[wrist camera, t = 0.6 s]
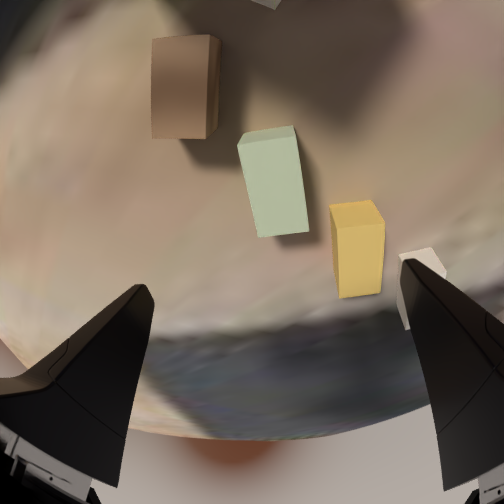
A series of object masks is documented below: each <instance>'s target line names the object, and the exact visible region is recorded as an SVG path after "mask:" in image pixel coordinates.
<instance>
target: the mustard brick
mask: <svg viewBox="0 0 504 504" xmlns="http://www.w3.org/2000/svg"><path fill="white" fill-rule="evenodd" d="M329 209H330V221H331V234H332V249H333V267H334V275H335V279H336V284H337V289H338V294H339V298H347V297H354V296H362V295H369V294H376V293H380V289H381V280H382V268H383V255H384V238H385V222H384V220H383V218H382V217H381V215H380V213H379V212H378V210H377V208H376V207H375V205H374V204H373V202H372V200H369V201H359V202H350V203H342V204H333V205H329Z"/></svg>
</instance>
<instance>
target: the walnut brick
mask: <svg viewBox="0 0 504 504" xmlns="http://www.w3.org/2000/svg"><path fill="white" fill-rule="evenodd" d="M221 50H222V41H221V40H219V39H217V38H216V37H214V36H212V35H210V34H206V35H187V36H174V37H164V38H156V39H152V64H151V120H152V138H183V139H206V138H207V137H208V136H209V135H211V134H212V133H213V132H214V131H215V130H216V129H217V128H218V107H219V85H220V67H221Z"/></svg>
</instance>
